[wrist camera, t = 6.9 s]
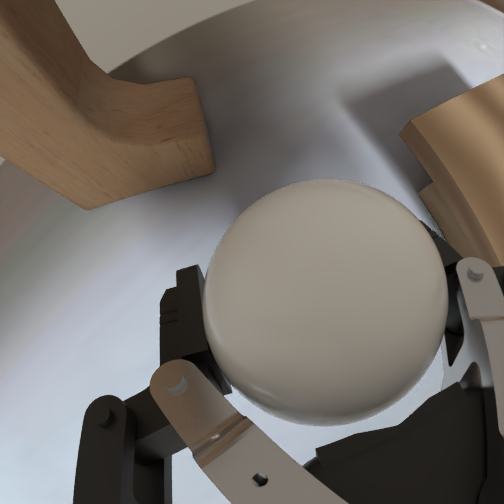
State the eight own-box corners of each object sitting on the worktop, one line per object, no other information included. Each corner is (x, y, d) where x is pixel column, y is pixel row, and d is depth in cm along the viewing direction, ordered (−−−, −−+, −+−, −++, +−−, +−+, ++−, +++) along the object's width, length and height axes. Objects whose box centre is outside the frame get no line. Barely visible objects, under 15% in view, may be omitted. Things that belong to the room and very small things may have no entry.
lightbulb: (330, 377, 15) (449, 475, 4) (211, 347, 15) (134, 425, 4) (360, 262, 16) (508, 193, 5) (246, 229, 16) (240, 91, 5)
